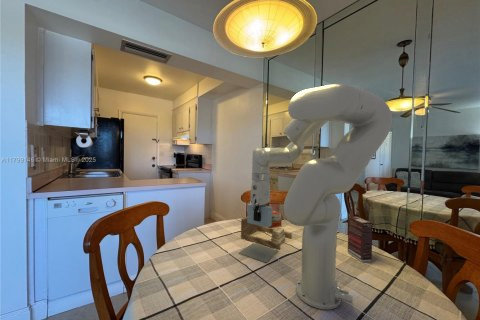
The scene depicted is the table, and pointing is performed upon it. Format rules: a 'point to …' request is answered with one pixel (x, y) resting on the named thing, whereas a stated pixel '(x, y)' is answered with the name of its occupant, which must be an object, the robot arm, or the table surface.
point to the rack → (251, 228)
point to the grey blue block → (265, 216)
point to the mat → (259, 252)
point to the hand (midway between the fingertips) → (259, 219)
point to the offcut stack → (278, 235)
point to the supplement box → (360, 238)
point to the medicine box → (276, 219)
